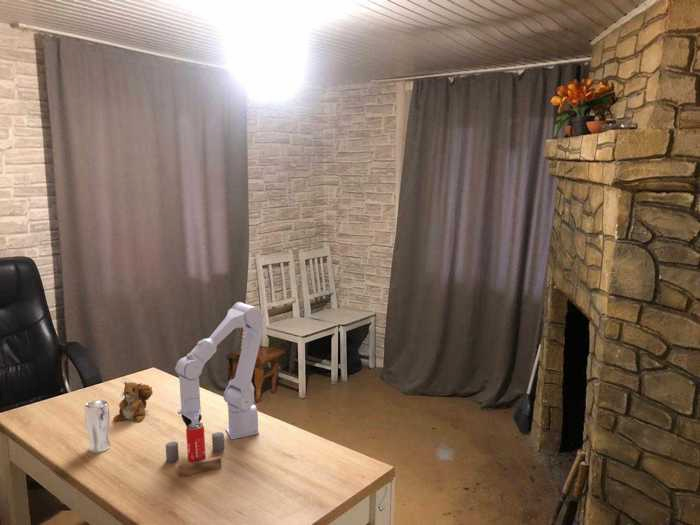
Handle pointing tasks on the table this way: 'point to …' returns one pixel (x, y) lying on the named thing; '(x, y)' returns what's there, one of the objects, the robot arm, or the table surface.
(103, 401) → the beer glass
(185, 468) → the walnut rail
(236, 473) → the table surface
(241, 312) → the robot arm
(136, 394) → the stuffed squirrel
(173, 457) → the bollard
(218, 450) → the bollard
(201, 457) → the beverage can
